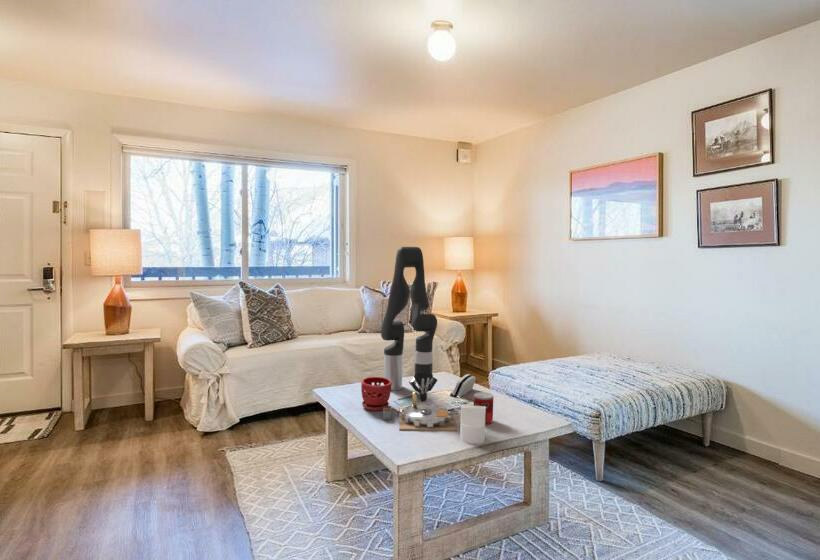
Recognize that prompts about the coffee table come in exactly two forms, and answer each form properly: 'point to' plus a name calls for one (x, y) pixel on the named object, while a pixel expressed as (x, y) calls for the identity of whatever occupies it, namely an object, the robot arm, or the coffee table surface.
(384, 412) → the grey rectangular block
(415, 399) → the sprocket
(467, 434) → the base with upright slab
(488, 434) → the coffee table surface
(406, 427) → the board
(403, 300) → the robot arm
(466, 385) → the grey curved shell
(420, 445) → the coffee table surface
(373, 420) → the coffee table surface
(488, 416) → the canned food
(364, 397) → the plant pot
